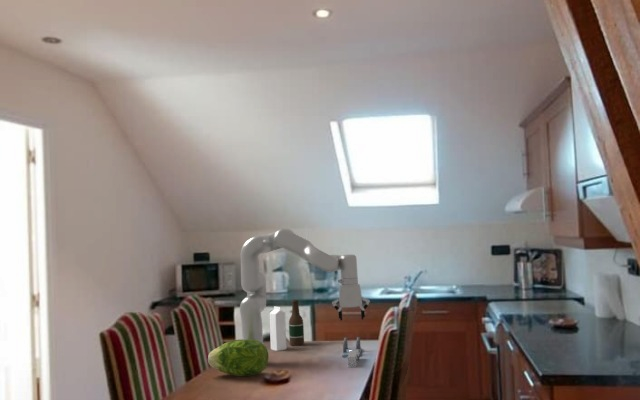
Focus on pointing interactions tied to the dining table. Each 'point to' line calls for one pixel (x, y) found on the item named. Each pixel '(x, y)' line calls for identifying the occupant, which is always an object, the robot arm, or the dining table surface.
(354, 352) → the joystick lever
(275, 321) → the milk
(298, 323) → the beer bottle
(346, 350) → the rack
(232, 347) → the lettuce
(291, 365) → the dining table surface
